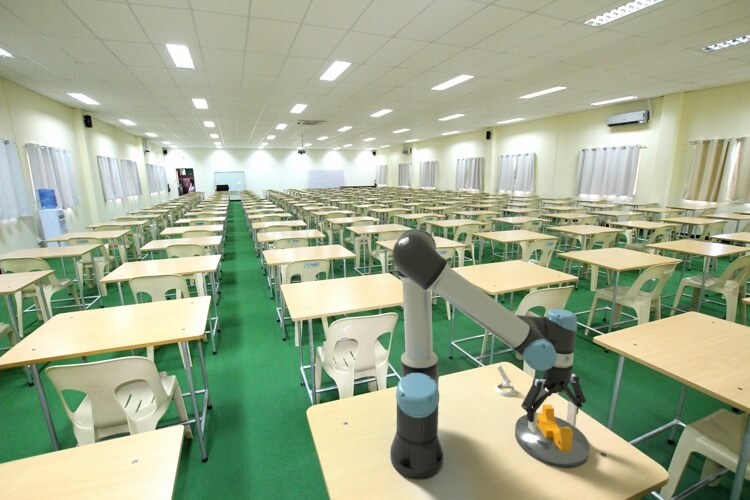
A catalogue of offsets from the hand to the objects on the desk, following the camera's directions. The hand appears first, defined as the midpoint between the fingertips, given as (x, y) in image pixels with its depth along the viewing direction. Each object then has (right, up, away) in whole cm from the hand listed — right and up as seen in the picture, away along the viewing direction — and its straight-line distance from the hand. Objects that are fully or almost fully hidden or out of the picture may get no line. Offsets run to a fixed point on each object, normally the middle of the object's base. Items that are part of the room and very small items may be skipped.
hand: (551, 426), depth 104 cm
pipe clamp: (0, -3, 0) cm, 3 cm away
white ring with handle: (-4, -1, +27) cm, 28 cm away
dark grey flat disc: (0, -5, +1) cm, 5 cm away
